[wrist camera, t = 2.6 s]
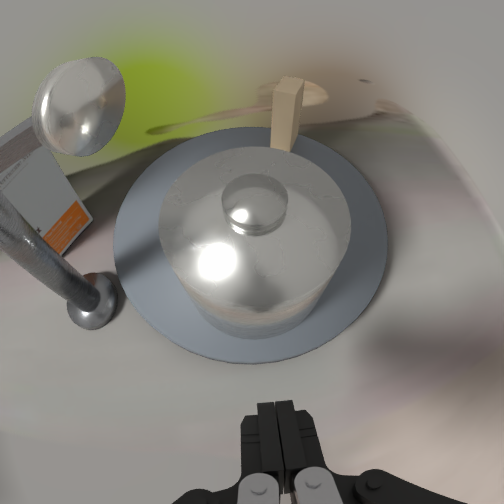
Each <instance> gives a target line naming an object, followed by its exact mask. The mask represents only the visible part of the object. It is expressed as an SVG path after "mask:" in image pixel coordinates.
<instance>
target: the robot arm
mask: <svg viewBox="0 0 504 504" xmlns="http://www.w3.org/2000/svg"><path fill="white" fill-rule="evenodd" d="M257 410H258V415H248V416H245V417H244V419H243V421H242V423H241V472H242V473H241V477H240V479H239V481H238V482H237V483H236V484H235V485H234V486H232V487H230V488H228V489H225V490H221V491H217V492H213V493H212V492H210V491H208V490H205V489H194V490H190V491H188V492H186V493H185V494H184V495H183V496H181V497H180V498H179V499H178V500H176V501H175V502H173V503H172V504H280V494H283V487H284V494H287V493H290V495H291V502H292V504H467V503H463V502H460V501H457V500H454V499H451V498H448V497H445V496H442V495H440V494H437V493H434V492H432V491H429V490H426V489H424V488H421V487H419V486H417V485H414V484H412V483H409V482H407V481H405V480H403V479H400V478H398V477H396V476H394V475H392V474H389V473H387V472H385V471H383V470H379V469H371V470H368V471H365V472H363V473H362V474H361V475H360V476H348V475H339V474H336V473H334V472H332V471H331V470H329V469H328V468H327V466H326V464H325V461H324V457H323V454H322V450H321V446H320V443H319V439H318V437H317V432H316V429H315V425H314V421H313V418H312V417H311V415H310V414H309V413H308V412H307V411H306V410H300V411H295V410H294V405H293V401H292V400H287V401H277V402H275V406H274V402H267V403H257Z"/></svg>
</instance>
